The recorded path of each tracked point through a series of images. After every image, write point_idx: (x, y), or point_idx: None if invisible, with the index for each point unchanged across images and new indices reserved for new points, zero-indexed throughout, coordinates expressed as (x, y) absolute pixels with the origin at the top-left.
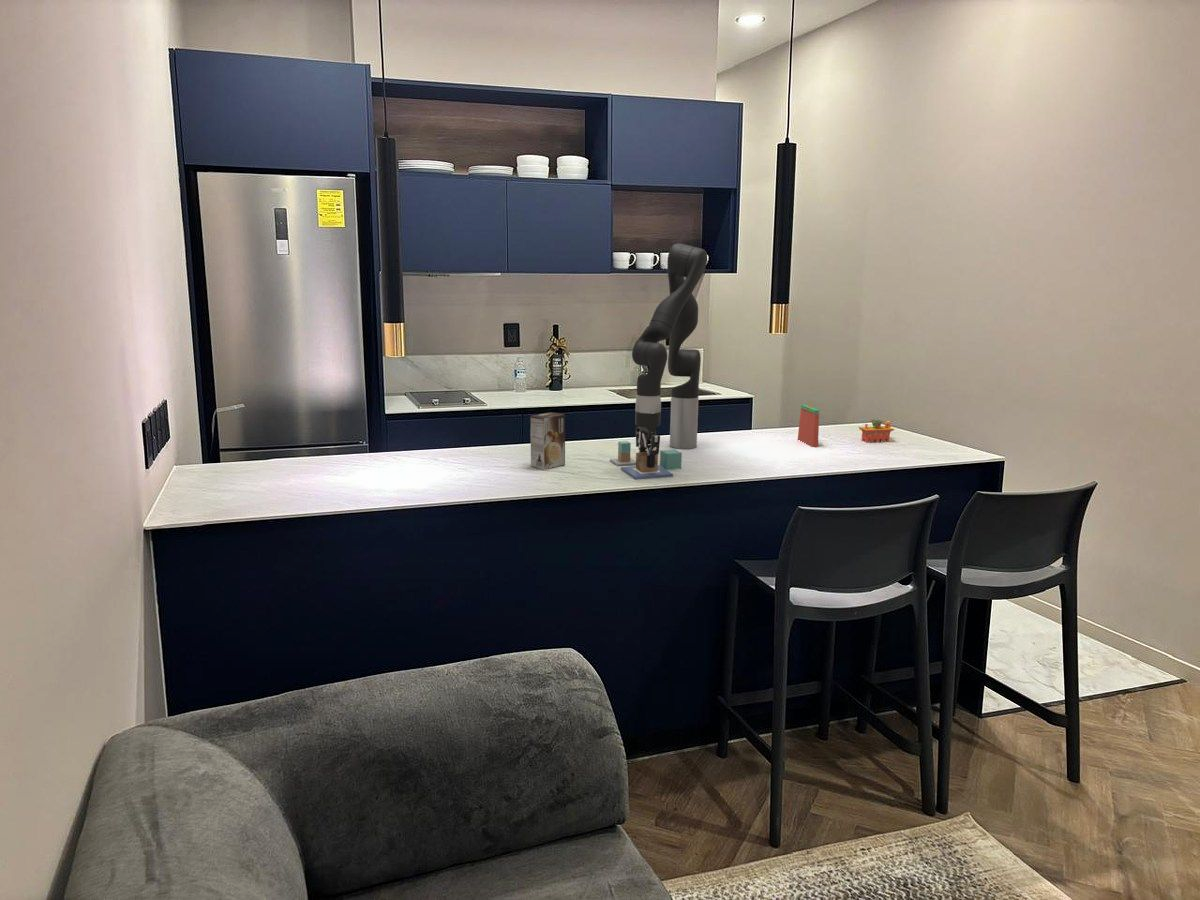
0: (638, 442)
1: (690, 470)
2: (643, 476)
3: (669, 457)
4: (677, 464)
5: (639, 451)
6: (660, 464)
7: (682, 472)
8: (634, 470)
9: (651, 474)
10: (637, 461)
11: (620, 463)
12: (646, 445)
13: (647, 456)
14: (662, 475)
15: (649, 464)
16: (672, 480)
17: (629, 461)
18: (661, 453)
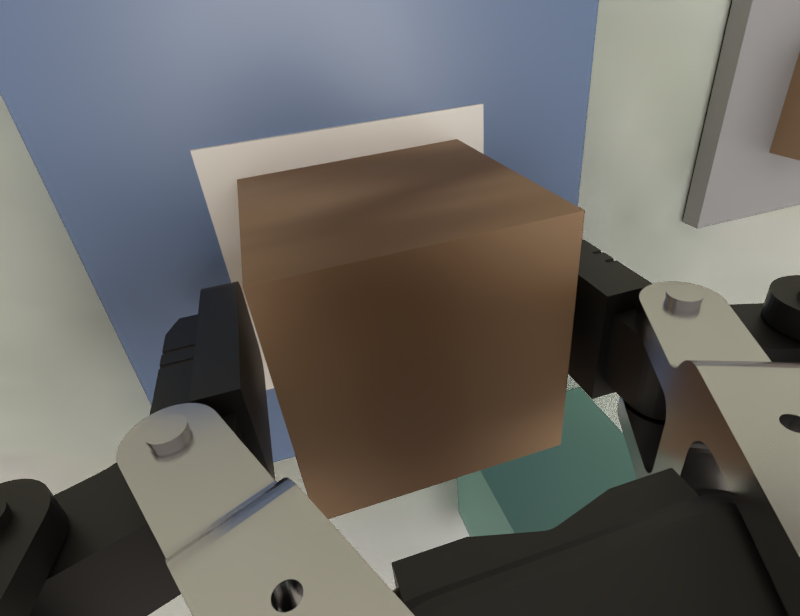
0: (765, 367)
1: (388, 560)
2: (34, 160)
3: (502, 530)
4: (471, 519)
5: (625, 283)
6: (577, 398)
7: (337, 522)
8: (386, 101)
9: (147, 285)
10: (445, 179)
11: (771, 11)
12: (190, 596)
13: (223, 379)
14: (150, 393)
15: (191, 329)
16: (10, 459)
17: (774, 144)
18: (631, 480)
